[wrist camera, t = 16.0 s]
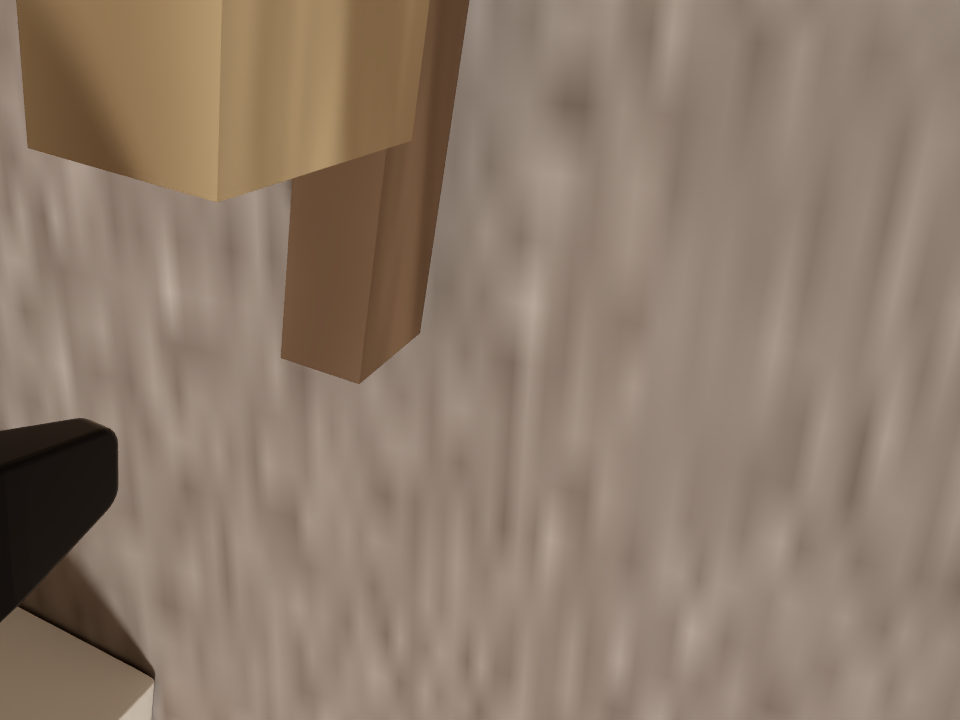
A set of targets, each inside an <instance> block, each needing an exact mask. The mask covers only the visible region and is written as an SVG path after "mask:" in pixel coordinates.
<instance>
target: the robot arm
mask: <svg viewBox="0 0 960 720" xmlns="http://www.w3.org/2000/svg"><path fill="white" fill-rule="evenodd" d="M117 491H118V440H117V437H116V435H115V433H114V432H113V431H112V430H111V429H109V428H107V427H105V426H103V425H100V424H98V423H96V422H93V421H91V420H88V419H84V418H77V419H70V420H64V421H58V422H52V423H46V424H40V425H34V426H27V427H21V428H15V429H9V430H3V431H0V623H1V622H2V621H3V620H4V619H5V618H6V617H7V616H8V615H9V614H10V613H11V612H12V611H13V610H14V609H16V608H17V606H18V605H19V604H20V603H21V602H22V601H23V600H24V599H25V598H26V597H27V596H28V595H29V594H30V593H31V592H32V591H33V590H34V589H35V588H36V587H37V586H38V585H39V584H40V582H41V581H42V580H43V579H44V578H45V577H46V576H47V575H48V574H49V573H50V572H51V571H52V570H53V568H54V567H55V566H56V565H57V564H58V563H59V562H60V561H61V560H62V559H63V558H64V557H65V555H66V554H67V553H68V552H69V551H70V550H71V549H72V548H73V547H74V546H75V545H76V544H77V543H78V541H79V540H80V539H81V538H82V537H83V536H84V535H85V534H86V533H87V532H88V531H89V530H90V528H91V527H92V526H93V525H94V524H95V523H96V522H97V521H98V520H99V519H100V518H101V517H102V516H103V514H104V513H105V512H106V511H107V510H108V509H109V508H110V506H111V505H112V503H113V501H114V499H115V497H116V495H117Z"/></svg>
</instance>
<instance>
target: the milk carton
mask: <svg viewBox="0 0 960 720" xmlns="http://www.w3.org/2000/svg"><path fill="white" fill-rule="evenodd" d="M153 693H154V680H153V679H152V678H151V677H149V676H148V675H146V674H144V673H142V672H141V671H139V670H137V669H135V668H133V667H131V666H129V665H127V664H126V663H124V662H122V661H120V660H118V659H116V658H114V657H112V656H110V655H108V654H107V653H105V652H103V651H101V650H99V649H97V648H95V647H93V646H91V645H89V644H88V643H86V642H84V641H82V640H80V639H78V638H76V637H74V636H72V635H71V634H69V633H67V632H65V631H63V630H61V629H59V628H57V627H55V626H53V625H52V624H50V623H48V622H46V621H44V620H42V619H40V618H38V617H36V616H35V615H33V614H31V613H29V612H27V611H25V610H23V609H21V608H19V607H17V608H16V609H14V610H13V611H12V612H11V613H10V614H9V615H8V616H7V617H6V618H5V619H4V620H3V621H2V622H1V623H0V720H151V719H152V706H153Z"/></svg>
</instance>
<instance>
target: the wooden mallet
mask: <svg viewBox="0 0 960 720" xmlns="http://www.w3.org/2000/svg"><path fill="white" fill-rule="evenodd" d="M16 3H17V16H18V29H19V41H20V54H21V67H22V80H23V93H24V105H25V118H26V131H27V144H28V148H30V149H33V150H37V151H40V152H44V153H47V154H51V155H54V156H58V157H61V158H65V159H68V160H72V161H75V162H79V163H82V164H85V165H89V166H92V167H96V168H99V169H103V170H106V171H110V172H113V173H117V174H120V175H124V176H127V177H131V178H134V179H138V180H141V181H145V182H148V183H151V184H155V185H158V186H162V187H165V188H169V189H172V190H176V191H179V192H183V193H186V194H190V195H193V196H197V197H200V198H204V199H207V200H211V201H214V202H220V201H223V200H226V199H229V198H232V197H235V196H239V195H242V194H245V193H248V192H251V191H254V190H258V189H261V188H264V187H267V186H270V185H273V184H276V183H280V182H283V181H286V180H289V179H292V178H293V180H292V196H291V211H290V226H289V241H288V256H287V271H286V286H285V301H284V317H283V332H282V347H281V358H282V359H285V360H288V361H291V362H294V363H297V364H300V365H303V366H306V367H309V368H312V369H315V370H318V371H321V372H324V373H327V374H330V375H333V376H336V377H339V378H342V379H345V380H348V381H351V382H354V383H357V384H360V383H361V382H362V381H363V380H365V379H366V378H367V377H368V376H369V375H371V374H372V373H373V372H374V371H375V370H377V369H378V368H379V367H380V366H381V365H382V364H384V363H385V362H386V361H387V360H388V359H390V358H391V357H392V356H393V355H394V354H396V353H397V352H398V351H399V350H400V349H401V348H403V347H404V346H405V345H406V344H407V343H409V342H410V341H411V340H412V339H413V338H415V337H416V336H417V335H418V334H419V333H420V329H421V322H422V315H423V308H424V302H425V295H426V288H427V282H428V275H429V268H430V261H431V255H432V248H433V241H434V234H435V228H436V221H437V214H438V208H439V201H440V194H441V187H442V181H443V174H444V167H445V160H446V154H447V147H448V140H449V134H450V127H451V120H452V113H453V107H454V100H455V93H456V87H457V80H458V73H459V66H460V60H461V53H462V46H463V39H464V33H465V26H466V19H467V13H468V6H469V0H16Z"/></svg>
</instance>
